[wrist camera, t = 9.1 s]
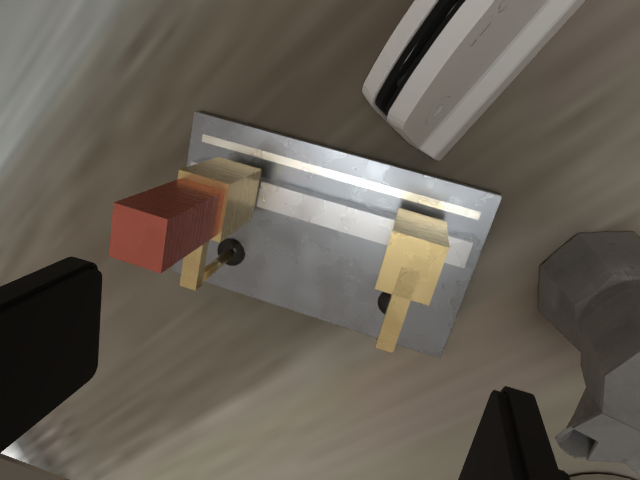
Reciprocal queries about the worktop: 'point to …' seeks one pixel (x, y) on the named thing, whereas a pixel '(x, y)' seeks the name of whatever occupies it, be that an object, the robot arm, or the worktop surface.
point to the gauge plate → (348, 235)
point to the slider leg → (185, 219)
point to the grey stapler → (456, 63)
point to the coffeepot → (599, 340)
